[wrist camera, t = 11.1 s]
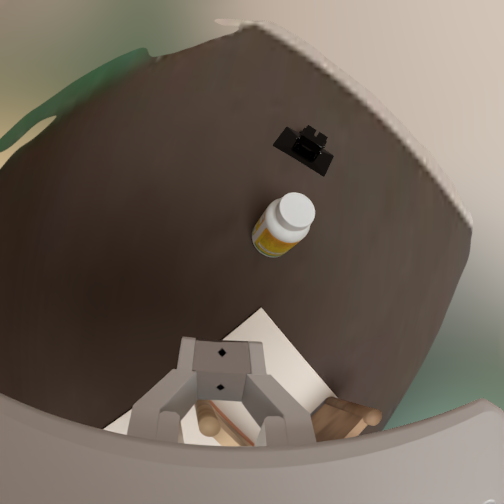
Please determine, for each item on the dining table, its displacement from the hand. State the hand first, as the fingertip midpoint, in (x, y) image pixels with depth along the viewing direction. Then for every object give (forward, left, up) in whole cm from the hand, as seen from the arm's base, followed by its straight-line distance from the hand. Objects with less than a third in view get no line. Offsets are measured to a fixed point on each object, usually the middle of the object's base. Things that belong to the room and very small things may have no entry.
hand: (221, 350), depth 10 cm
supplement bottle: (+16, +4, -23) cm, 28 cm away
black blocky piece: (+31, +12, -24) cm, 41 cm away
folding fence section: (-4, -11, -22) cm, 25 cm away
